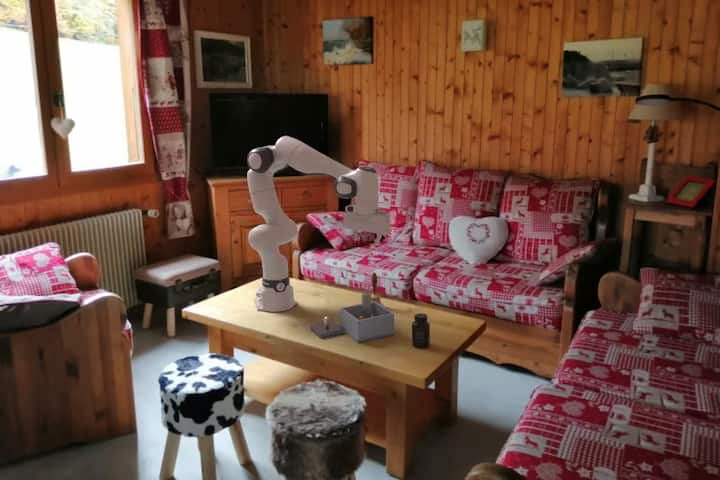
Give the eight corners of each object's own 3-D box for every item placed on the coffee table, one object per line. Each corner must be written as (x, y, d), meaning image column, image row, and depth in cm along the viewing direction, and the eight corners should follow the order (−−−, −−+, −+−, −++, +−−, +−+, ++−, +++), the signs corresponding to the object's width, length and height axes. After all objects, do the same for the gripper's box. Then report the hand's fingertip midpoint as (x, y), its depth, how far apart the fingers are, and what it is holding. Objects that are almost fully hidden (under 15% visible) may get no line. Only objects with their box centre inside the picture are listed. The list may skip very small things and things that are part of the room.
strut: (365, 326, 238) (364, 292, 234) (374, 328, 236) (373, 294, 232) (359, 330, 234) (358, 295, 231) (368, 332, 232) (368, 297, 228)
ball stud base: (310, 329, 238) (310, 315, 237) (333, 325, 243) (332, 310, 241) (320, 338, 230) (319, 323, 228) (343, 333, 234) (343, 318, 232)
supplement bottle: (433, 344, 223) (433, 314, 220) (422, 350, 218) (423, 320, 215) (418, 339, 227) (419, 310, 224) (408, 345, 222) (408, 315, 219)
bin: (340, 328, 239) (339, 308, 237) (375, 321, 246) (374, 301, 243) (358, 343, 225) (357, 321, 223) (394, 335, 232) (394, 313, 230)
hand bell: (361, 307, 263) (361, 272, 259) (375, 302, 268) (375, 269, 264) (374, 312, 257) (373, 277, 253) (388, 307, 262) (387, 273, 258)
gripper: (393, 209, 228) (393, 244, 232) (350, 204, 239) (350, 236, 243) (385, 212, 223) (385, 247, 227) (341, 206, 234) (341, 240, 238)
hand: (367, 242), depth 235 cm, fingers open, 8 cm apart
